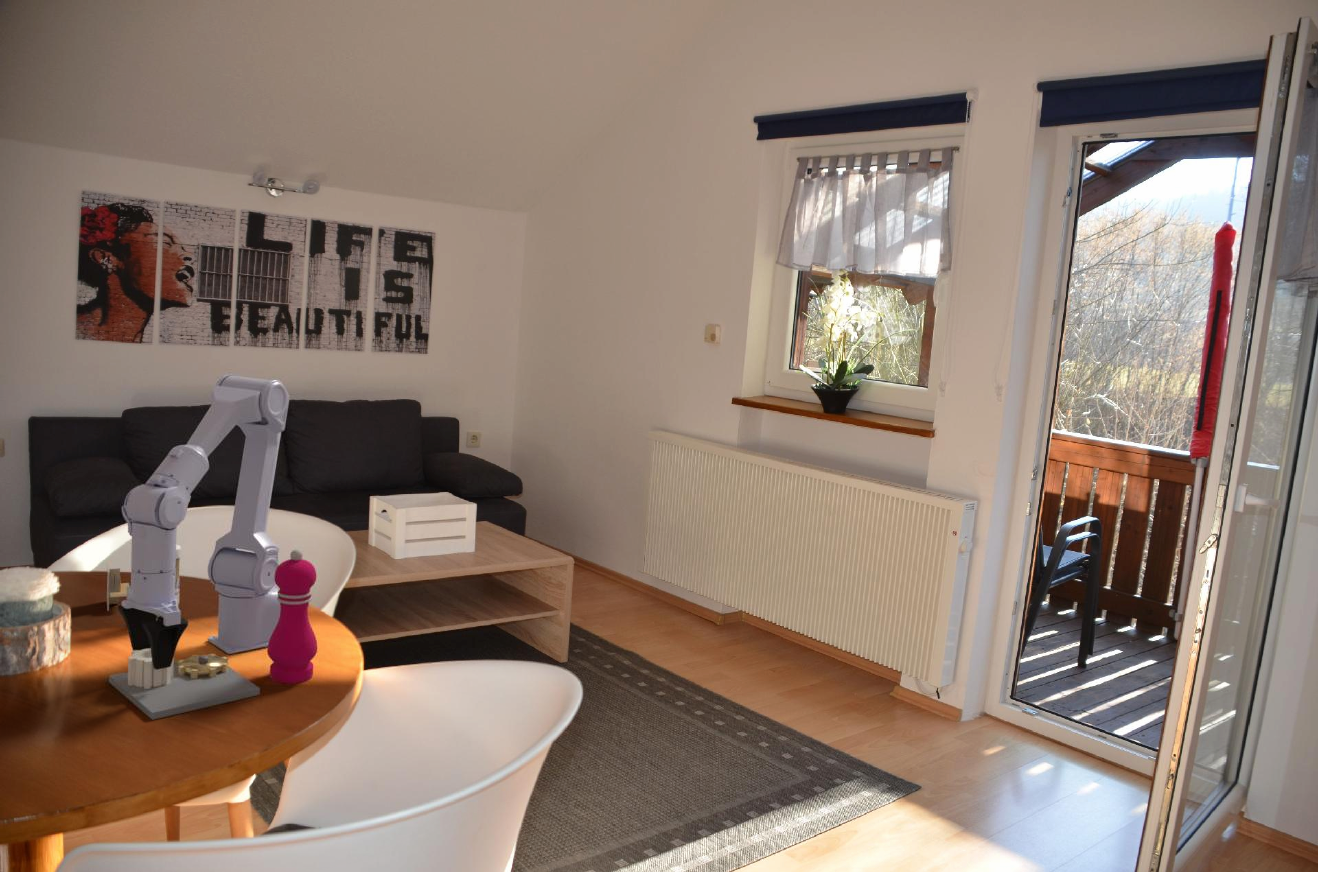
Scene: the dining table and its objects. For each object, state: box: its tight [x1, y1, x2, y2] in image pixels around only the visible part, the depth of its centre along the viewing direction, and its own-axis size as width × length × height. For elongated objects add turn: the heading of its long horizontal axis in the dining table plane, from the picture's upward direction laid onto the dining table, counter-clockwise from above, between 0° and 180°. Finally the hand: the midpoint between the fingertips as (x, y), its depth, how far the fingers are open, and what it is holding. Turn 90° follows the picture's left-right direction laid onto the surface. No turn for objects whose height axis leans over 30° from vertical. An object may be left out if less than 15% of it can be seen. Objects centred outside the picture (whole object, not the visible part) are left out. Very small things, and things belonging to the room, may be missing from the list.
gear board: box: [108, 653, 261, 721], centre depth 148 cm, size 15×16×4 cm
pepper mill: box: [266, 549, 318, 684], centre depth 155 cm, size 7×7×20 cm
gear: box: [127, 648, 175, 689], centre depth 147 cm, size 6×6×4 cm
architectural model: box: [106, 563, 130, 612], centre depth 179 cm, size 3×7×7 cm, turn 29°
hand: (151, 659), depth 147 cm, fingers open, 7 cm apart
